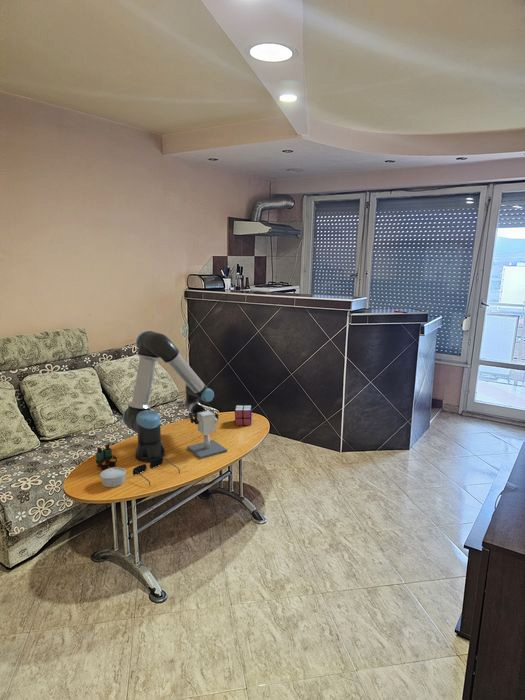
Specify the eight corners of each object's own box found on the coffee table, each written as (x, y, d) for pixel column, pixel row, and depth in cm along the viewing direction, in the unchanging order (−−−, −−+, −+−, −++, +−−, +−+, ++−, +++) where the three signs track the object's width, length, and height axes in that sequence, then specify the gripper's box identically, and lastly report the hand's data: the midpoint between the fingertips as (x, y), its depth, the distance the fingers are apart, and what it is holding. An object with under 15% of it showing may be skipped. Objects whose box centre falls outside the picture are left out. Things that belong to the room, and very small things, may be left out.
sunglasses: (162, 464, 220) (162, 456, 218) (180, 477, 210) (180, 468, 209) (132, 477, 207) (132, 467, 206) (149, 491, 198) (150, 481, 197)
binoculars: (105, 454, 208) (92, 447, 213) (105, 474, 211) (93, 467, 216) (120, 448, 215) (108, 441, 220) (120, 467, 218) (108, 460, 223)
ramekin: (130, 478, 205) (130, 467, 204) (119, 490, 194) (118, 479, 193) (108, 476, 207) (107, 466, 206) (96, 488, 196) (95, 477, 195)
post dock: (200, 459, 225) (199, 444, 223) (187, 448, 238) (186, 434, 236) (227, 451, 234) (227, 437, 232) (213, 441, 247) (212, 428, 245)
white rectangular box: (203, 434, 229) (203, 416, 227) (197, 430, 235) (197, 412, 233) (215, 431, 233) (215, 413, 231) (209, 427, 239) (209, 410, 237)
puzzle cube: (251, 425, 271) (250, 410, 269) (235, 425, 271) (234, 410, 270) (251, 420, 281) (251, 405, 279) (236, 420, 281) (235, 405, 279)
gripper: (214, 413, 254) (228, 427, 233) (179, 419, 245) (190, 433, 225) (214, 401, 252) (227, 413, 232) (179, 406, 244) (189, 419, 224)
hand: (209, 423), depth 228 cm, fingers closed on white rectangular box, 8 cm apart
